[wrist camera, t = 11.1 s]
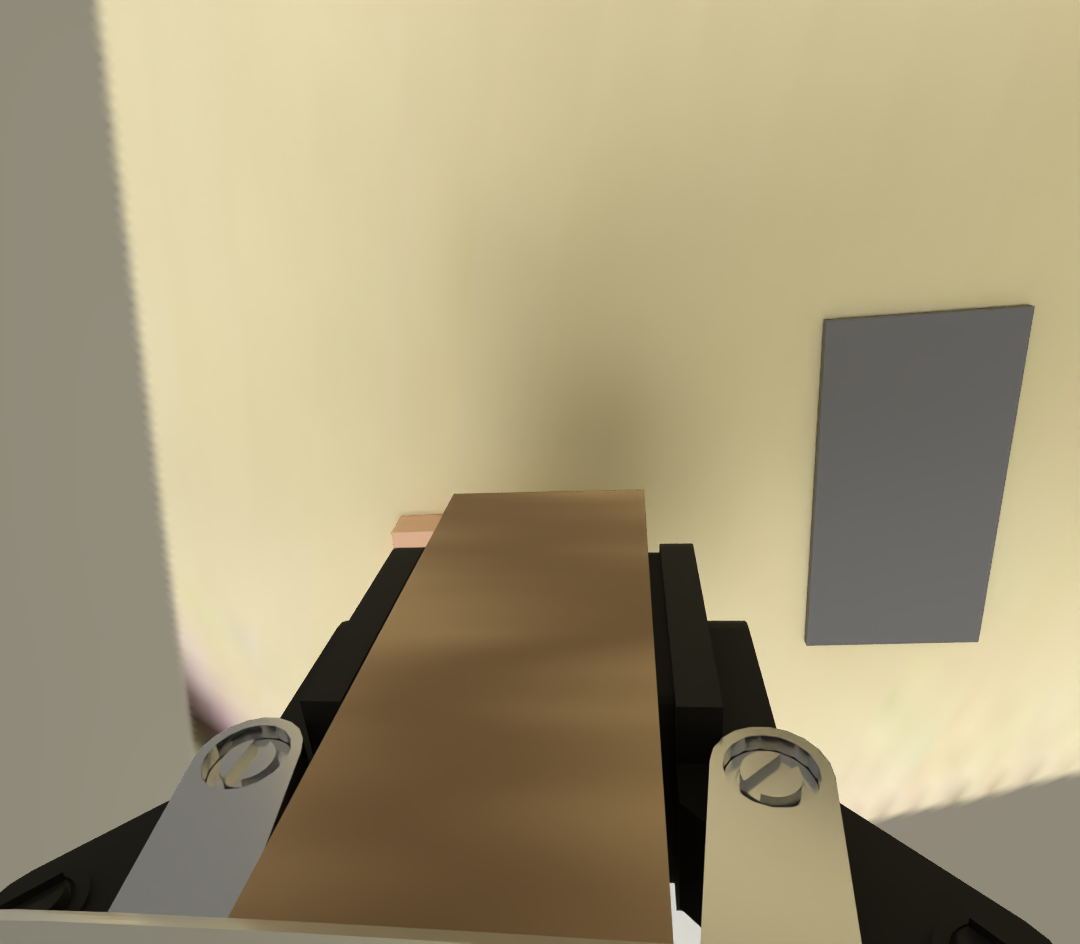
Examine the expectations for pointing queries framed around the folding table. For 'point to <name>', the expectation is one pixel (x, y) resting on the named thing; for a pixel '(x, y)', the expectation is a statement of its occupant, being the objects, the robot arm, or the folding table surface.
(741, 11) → the folding table surface
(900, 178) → the folding table surface
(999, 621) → the folding table surface
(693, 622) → the robot arm
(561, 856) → the block on white plate
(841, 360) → the mat
